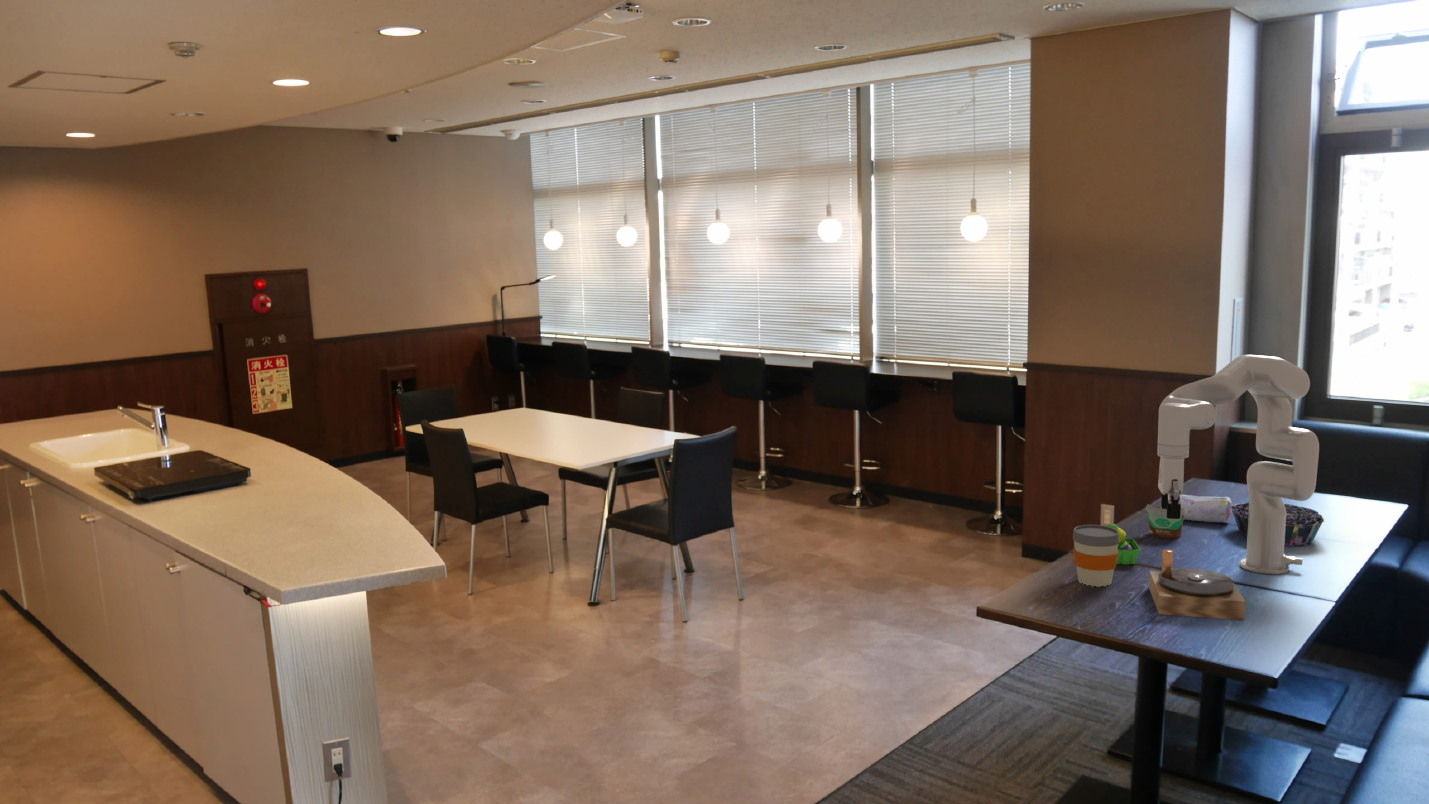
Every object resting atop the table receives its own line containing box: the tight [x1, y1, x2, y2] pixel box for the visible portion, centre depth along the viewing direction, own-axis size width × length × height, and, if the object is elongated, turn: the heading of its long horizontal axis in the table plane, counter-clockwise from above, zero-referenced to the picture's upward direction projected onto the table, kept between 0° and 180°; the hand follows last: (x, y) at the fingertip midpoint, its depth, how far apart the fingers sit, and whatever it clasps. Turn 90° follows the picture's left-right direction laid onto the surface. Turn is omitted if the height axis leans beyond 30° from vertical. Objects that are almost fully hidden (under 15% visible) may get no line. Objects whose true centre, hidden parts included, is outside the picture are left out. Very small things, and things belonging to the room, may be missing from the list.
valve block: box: [1148, 570, 1246, 621], centre depth 263 cm, size 20×20×5 cm
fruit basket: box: [1107, 523, 1141, 565], centre depth 300 cm, size 11×9×11 cm
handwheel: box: [1158, 549, 1235, 596], centre depth 262 cm, size 18×18×9 cm
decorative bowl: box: [1230, 502, 1325, 547], centre depth 318 cm, size 26×28×10 cm
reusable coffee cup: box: [1072, 524, 1120, 588], centre depth 281 cm, size 13×12×15 cm
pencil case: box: [1180, 493, 1232, 524], centre depth 339 cm, size 21×9×10 cm, turn 55°
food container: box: [1145, 503, 1187, 540], centre depth 321 cm, size 12×6×10 cm, turn 68°
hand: (1170, 513), depth 262 cm, fingers open, 9 cm apart
